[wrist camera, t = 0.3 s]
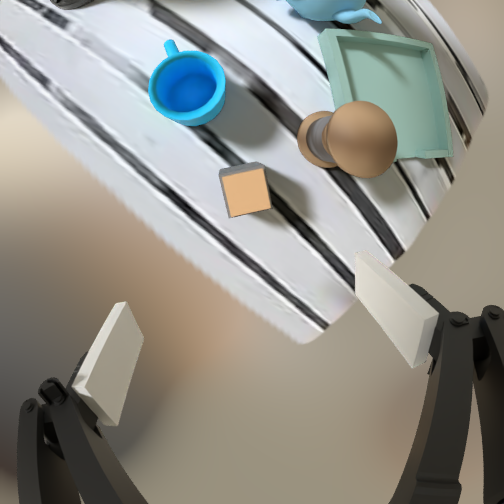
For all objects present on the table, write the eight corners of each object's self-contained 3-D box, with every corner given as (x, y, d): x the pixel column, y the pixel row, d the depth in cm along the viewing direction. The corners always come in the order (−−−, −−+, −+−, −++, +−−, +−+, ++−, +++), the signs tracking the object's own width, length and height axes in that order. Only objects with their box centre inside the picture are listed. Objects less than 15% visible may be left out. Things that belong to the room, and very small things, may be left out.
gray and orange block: (219, 169, 35) (218, 175, 27) (256, 161, 35) (265, 165, 27) (227, 204, 37) (229, 220, 29) (263, 196, 37) (273, 210, 29)
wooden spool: (291, 115, 33) (322, 102, 22) (344, 109, 33) (391, 100, 22) (302, 171, 36) (336, 183, 25) (353, 163, 36) (401, 173, 25)
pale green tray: (317, 36, 28) (325, 28, 25) (420, 47, 28) (432, 43, 25) (344, 164, 36) (355, 166, 33) (440, 154, 36) (453, 156, 33)
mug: (234, 111, 32) (237, 101, 25) (177, 136, 32) (164, 133, 25) (202, 40, 27) (197, 15, 20) (147, 64, 28) (128, 46, 20)
